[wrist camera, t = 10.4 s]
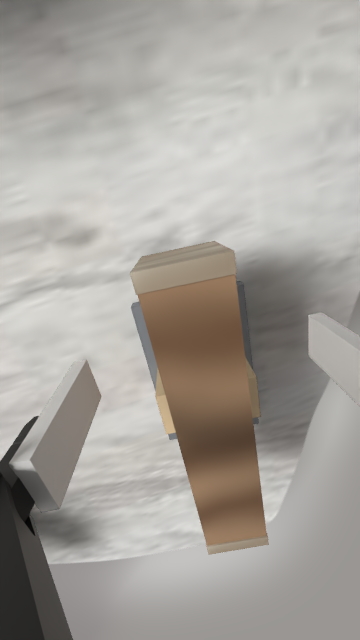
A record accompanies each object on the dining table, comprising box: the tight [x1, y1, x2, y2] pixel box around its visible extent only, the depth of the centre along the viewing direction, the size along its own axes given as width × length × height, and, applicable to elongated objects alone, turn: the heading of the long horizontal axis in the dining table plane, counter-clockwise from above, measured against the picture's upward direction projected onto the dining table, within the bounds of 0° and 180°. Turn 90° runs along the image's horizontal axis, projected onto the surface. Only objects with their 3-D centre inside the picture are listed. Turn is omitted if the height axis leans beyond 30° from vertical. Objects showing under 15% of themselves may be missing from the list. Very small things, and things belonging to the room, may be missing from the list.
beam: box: [130, 241, 269, 554], centre depth 17 cm, size 22×5×5 cm, turn 12°
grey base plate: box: [131, 281, 261, 440], centre depth 23 cm, size 16×10×6 cm, turn 12°
